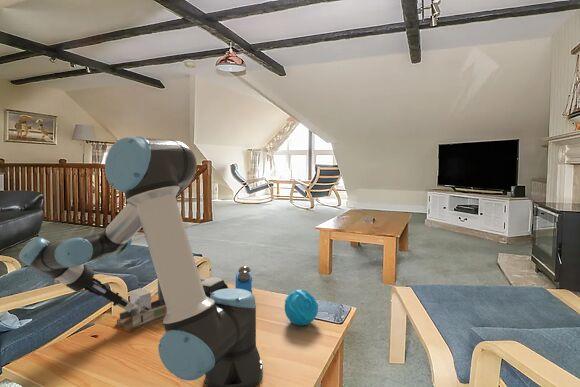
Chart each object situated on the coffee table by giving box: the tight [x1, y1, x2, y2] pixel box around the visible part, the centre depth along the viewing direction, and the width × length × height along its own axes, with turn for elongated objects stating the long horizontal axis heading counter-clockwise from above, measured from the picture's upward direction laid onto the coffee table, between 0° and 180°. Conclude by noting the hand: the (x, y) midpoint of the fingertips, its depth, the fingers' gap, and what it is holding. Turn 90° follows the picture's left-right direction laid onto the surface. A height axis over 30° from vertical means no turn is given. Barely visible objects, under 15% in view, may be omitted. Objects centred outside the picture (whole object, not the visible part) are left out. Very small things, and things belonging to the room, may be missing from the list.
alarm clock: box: [235, 265, 253, 294], centre depth 130 cm, size 13×6×15 cm, turn 6°
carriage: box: [129, 287, 152, 317], centre depth 117 cm, size 9×4×9 cm, turn 52°
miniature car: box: [201, 276, 229, 298], centre depth 136 cm, size 9×18×8 cm, turn 152°
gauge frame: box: [116, 280, 167, 333], centre depth 120 cm, size 10×20×12 cm, turn 142°
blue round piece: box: [284, 289, 319, 326], centre depth 116 cm, size 12×11×12 cm
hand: (131, 308), depth 115 cm, fingers closed
